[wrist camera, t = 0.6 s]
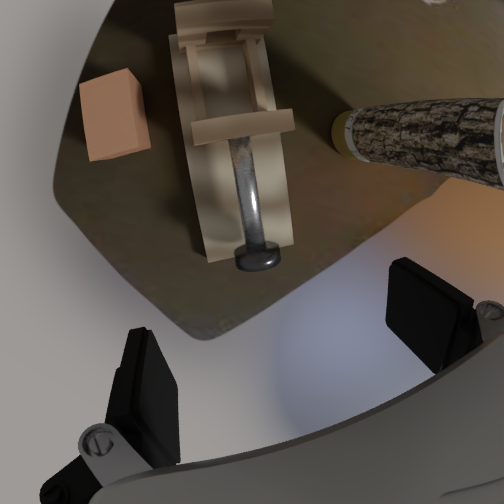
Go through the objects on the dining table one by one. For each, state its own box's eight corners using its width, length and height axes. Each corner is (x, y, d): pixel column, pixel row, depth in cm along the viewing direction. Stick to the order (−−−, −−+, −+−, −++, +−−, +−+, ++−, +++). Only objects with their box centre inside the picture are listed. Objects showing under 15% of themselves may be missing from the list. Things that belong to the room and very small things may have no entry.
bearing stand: (169, 39, 26) (163, 5, 17) (258, 29, 27) (280, -4, 19) (207, 258, 36) (213, 293, 28) (289, 240, 38) (318, 268, 29)
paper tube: (378, 144, 36) (537, 168, 13) (344, 168, 36) (509, 212, 13) (356, 103, 33) (520, 88, 10) (319, 125, 33) (490, 117, 10)
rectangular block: (102, 97, 27) (79, 84, 20) (141, 85, 28) (127, 68, 20) (112, 158, 30) (89, 161, 22) (151, 147, 30) (138, 146, 23)
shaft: (209, 124, 28) (212, 119, 24) (255, 118, 29) (266, 112, 24) (233, 258, 34) (240, 275, 29) (273, 249, 35) (286, 265, 30)
